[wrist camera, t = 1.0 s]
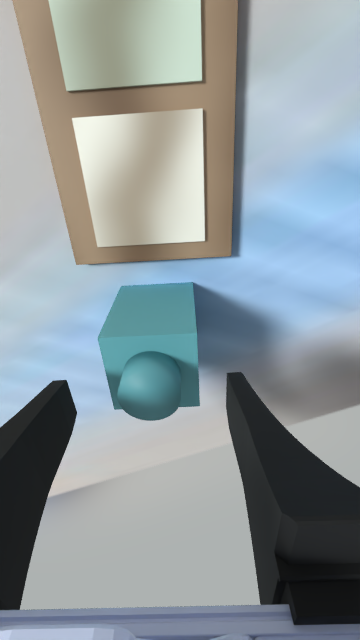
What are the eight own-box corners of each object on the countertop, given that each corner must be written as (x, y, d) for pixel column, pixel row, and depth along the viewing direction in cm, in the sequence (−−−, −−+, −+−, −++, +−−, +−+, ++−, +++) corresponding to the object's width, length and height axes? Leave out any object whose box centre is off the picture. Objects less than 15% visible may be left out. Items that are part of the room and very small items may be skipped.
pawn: (192, 282, 18) (198, 354, 12) (195, 342, 21) (201, 431, 14) (121, 285, 19) (87, 359, 12) (131, 345, 21) (107, 434, 14)
